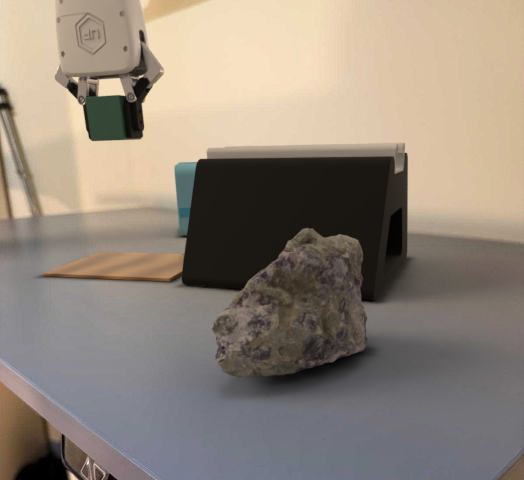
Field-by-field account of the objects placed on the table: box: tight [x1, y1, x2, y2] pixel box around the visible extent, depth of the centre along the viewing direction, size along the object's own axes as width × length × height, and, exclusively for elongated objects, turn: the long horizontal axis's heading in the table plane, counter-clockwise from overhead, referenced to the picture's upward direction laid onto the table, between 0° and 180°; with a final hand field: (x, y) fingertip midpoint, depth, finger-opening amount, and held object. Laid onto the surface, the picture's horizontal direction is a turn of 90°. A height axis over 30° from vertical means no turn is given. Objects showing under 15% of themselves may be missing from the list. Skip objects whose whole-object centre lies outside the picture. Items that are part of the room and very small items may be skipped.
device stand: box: [181, 142, 409, 301], centre depth 66 cm, size 22×22×15 cm
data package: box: [173, 161, 198, 237], centre depth 98 cm, size 12×4×12 cm, turn 4°
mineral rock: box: [210, 228, 368, 378], centre depth 40 cm, size 13×11×10 cm
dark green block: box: [85, 94, 142, 142], centre depth 68 cm, size 5×5×5 cm
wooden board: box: [42, 251, 185, 282], centre depth 74 cm, size 18×14×1 cm
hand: (116, 137), depth 68 cm, fingers closed on dark green block, 4 cm apart
